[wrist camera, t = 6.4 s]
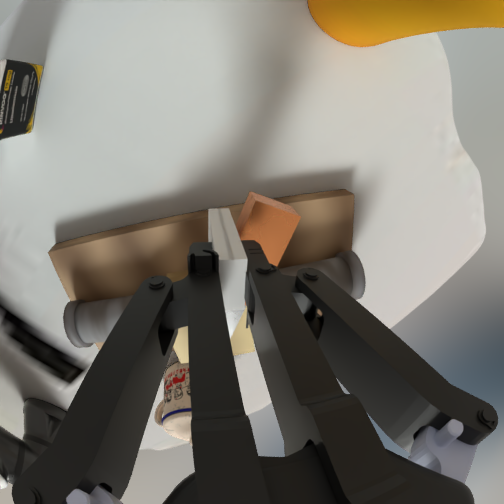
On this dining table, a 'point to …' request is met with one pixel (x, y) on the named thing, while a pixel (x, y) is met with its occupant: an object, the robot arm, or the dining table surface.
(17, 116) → the medicine bottle
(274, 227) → the valve lever
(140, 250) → the pipe valve
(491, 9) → the beer bottle
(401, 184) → the dining table surface
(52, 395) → the dining table surface
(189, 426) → the teacup with lid
